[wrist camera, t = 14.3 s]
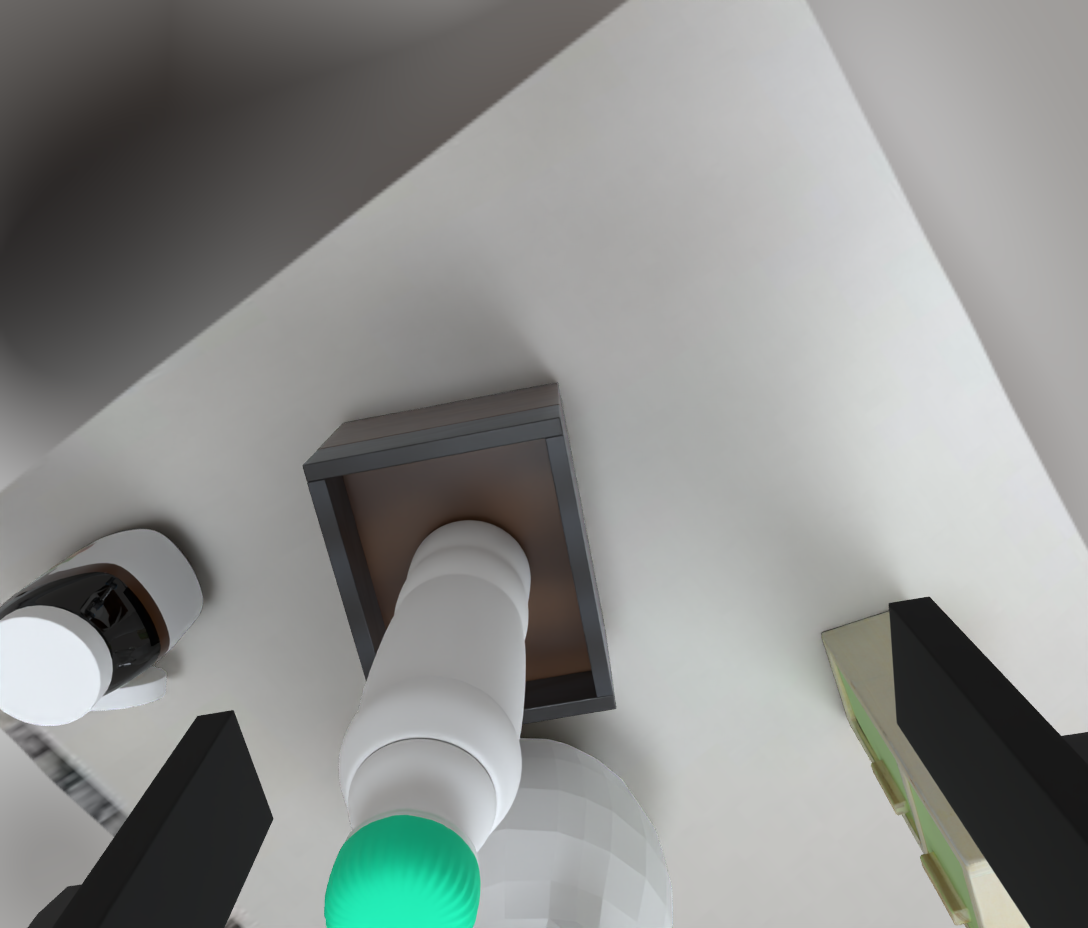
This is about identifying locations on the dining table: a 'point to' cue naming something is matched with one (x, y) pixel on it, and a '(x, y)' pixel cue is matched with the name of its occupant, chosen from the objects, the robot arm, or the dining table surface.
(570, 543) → the open rectangular box
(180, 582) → the spread jar
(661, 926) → the white vase
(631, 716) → the dining table surface
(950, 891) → the beige rectangular block
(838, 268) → the dining table surface
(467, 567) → the water bottle
